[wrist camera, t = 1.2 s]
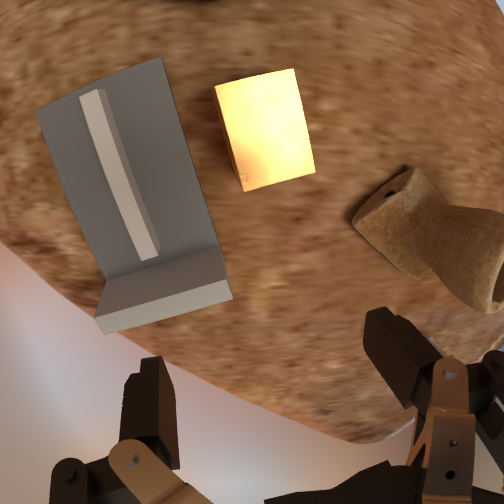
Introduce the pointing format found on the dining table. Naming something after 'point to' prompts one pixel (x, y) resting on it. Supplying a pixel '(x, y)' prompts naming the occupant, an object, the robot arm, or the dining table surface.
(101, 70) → the dining table surface
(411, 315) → the dining table surface
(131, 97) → the rail plate
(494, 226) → the brown boot
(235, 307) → the dining table surface
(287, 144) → the block
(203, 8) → the dining table surface
